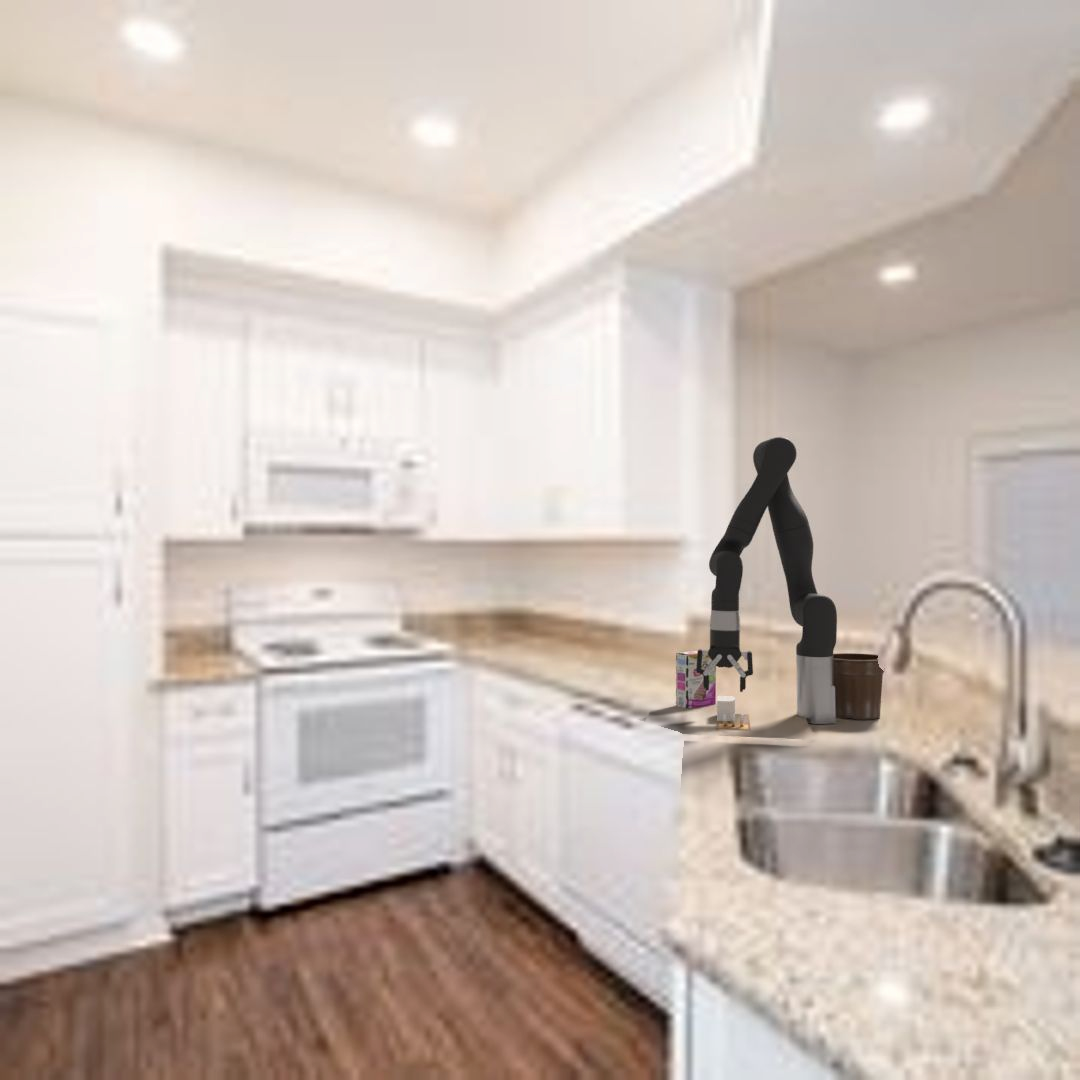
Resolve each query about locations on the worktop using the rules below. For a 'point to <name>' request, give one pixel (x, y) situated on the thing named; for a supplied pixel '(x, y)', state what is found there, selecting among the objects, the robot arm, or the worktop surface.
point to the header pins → (733, 720)
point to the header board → (737, 724)
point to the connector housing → (725, 707)
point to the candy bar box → (693, 681)
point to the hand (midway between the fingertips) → (724, 690)
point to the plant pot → (857, 686)
